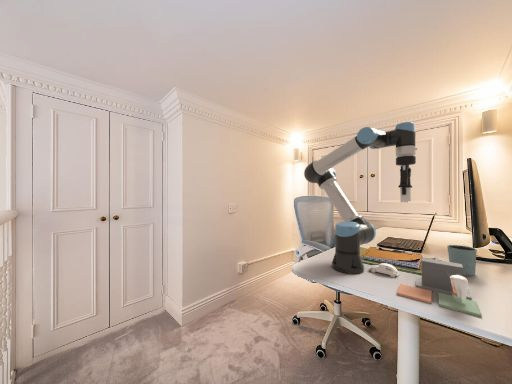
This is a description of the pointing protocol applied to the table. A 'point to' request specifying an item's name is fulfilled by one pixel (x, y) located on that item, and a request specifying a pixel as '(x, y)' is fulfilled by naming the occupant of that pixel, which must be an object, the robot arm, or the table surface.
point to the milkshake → (458, 288)
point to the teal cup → (463, 258)
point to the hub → (439, 276)
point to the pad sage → (459, 305)
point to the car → (384, 269)
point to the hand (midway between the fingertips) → (405, 201)
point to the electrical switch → (435, 258)
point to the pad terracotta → (415, 293)
